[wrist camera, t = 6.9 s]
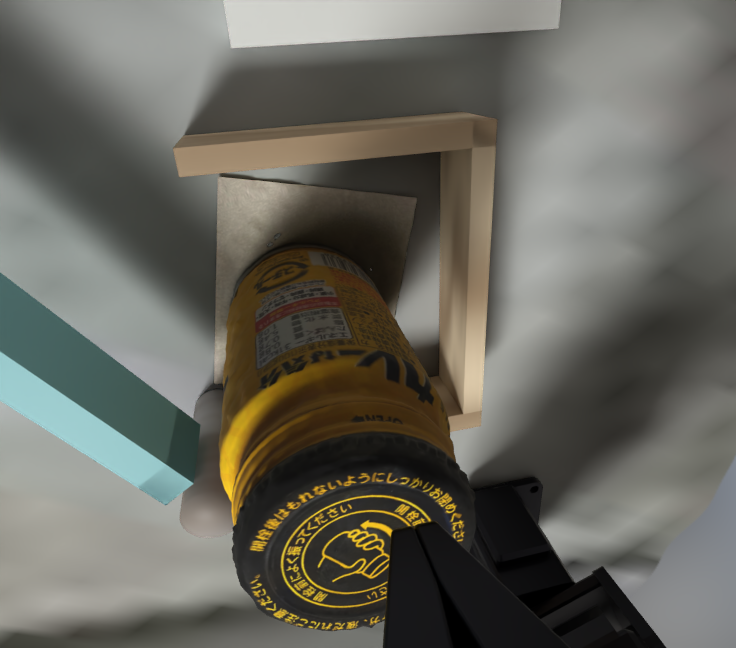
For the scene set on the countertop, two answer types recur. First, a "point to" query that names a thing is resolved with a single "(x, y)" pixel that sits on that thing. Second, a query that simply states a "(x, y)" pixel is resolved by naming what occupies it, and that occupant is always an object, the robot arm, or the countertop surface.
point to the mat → (379, 19)
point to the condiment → (324, 401)
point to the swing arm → (92, 399)
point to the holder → (457, 254)
